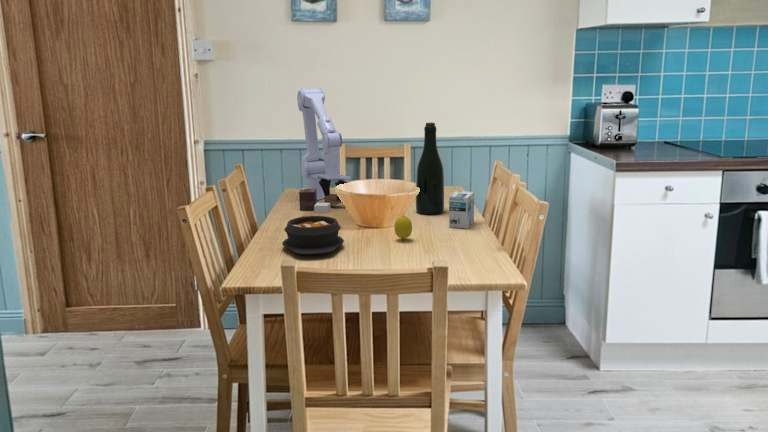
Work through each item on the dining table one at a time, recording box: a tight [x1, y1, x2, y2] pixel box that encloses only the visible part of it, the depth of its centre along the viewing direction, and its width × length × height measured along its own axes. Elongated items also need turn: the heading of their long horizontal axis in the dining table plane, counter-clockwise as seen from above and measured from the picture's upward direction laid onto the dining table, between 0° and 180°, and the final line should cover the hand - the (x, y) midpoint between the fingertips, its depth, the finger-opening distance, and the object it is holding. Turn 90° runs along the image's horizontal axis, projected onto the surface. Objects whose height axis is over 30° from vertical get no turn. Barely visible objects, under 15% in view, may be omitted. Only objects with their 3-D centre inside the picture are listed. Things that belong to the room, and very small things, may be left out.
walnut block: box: [324, 193, 343, 206], centre depth 252 cm, size 5×5×3 cm
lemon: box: [394, 214, 413, 241], centre depth 205 cm, size 6×6×8 cm
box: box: [298, 188, 318, 212], centre depth 249 cm, size 6×6×7 cm
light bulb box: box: [448, 190, 475, 230], centre depth 222 cm, size 11×7×11 cm, turn 161°
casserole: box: [281, 215, 345, 255], centre depth 198 cm, size 25×19×8 cm
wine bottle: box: [415, 122, 445, 216], centre depth 238 cm, size 10×10×33 cm
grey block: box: [313, 202, 331, 214], centre depth 245 cm, size 5×5×3 cm
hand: (333, 199), depth 252 cm, fingers closed on walnut block, 5 cm apart
